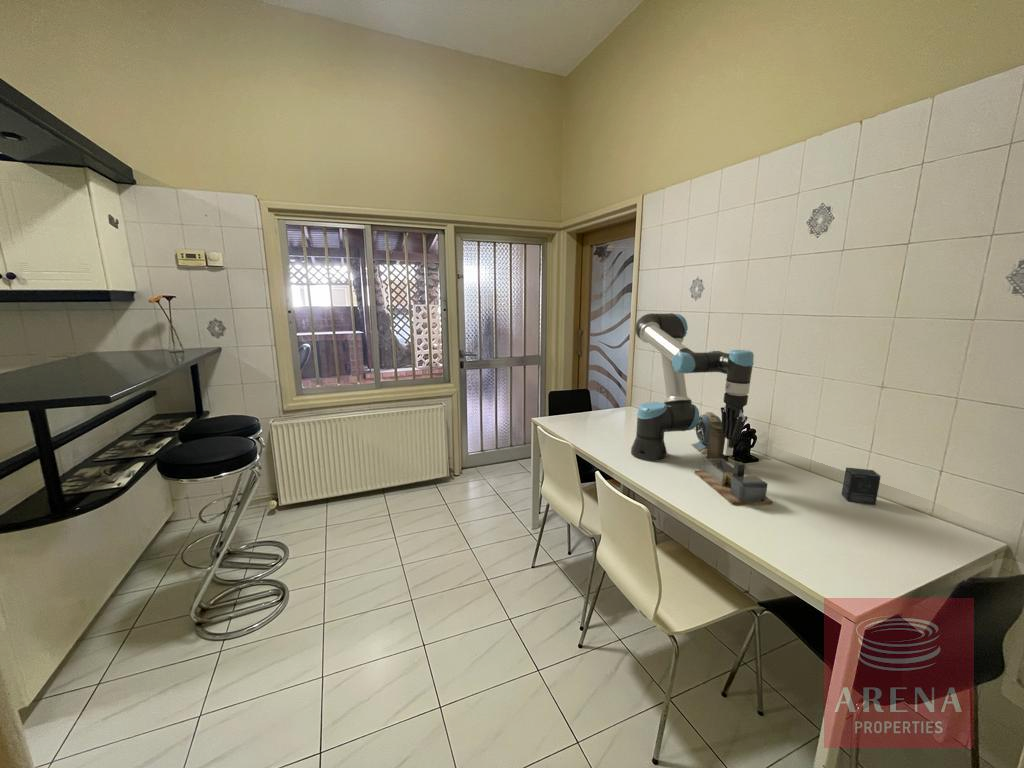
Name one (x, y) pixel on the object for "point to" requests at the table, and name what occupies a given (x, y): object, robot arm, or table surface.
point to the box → (860, 485)
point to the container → (716, 442)
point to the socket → (748, 488)
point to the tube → (735, 472)
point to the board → (726, 490)
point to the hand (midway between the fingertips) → (727, 454)
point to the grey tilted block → (717, 469)
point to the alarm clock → (704, 431)
